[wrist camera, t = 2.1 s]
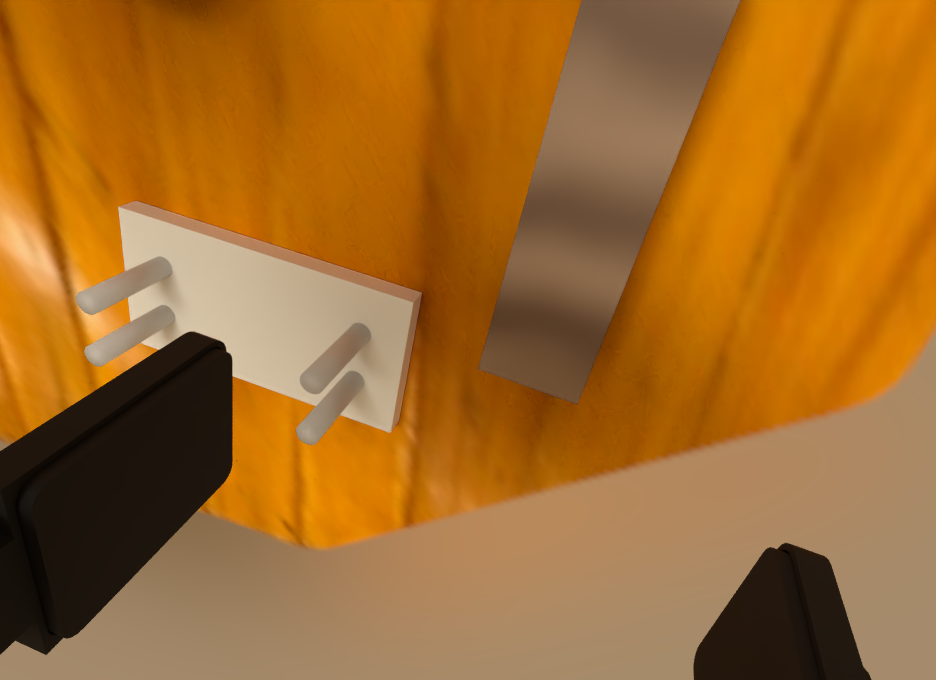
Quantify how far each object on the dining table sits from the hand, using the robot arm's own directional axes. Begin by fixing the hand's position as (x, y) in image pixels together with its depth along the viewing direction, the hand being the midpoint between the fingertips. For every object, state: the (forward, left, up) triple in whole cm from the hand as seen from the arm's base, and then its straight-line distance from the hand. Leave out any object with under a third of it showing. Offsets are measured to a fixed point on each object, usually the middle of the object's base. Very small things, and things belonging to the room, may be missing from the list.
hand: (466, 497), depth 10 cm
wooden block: (0, 0, -24) cm, 24 cm away
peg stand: (+14, -18, -24) cm, 33 cm away
